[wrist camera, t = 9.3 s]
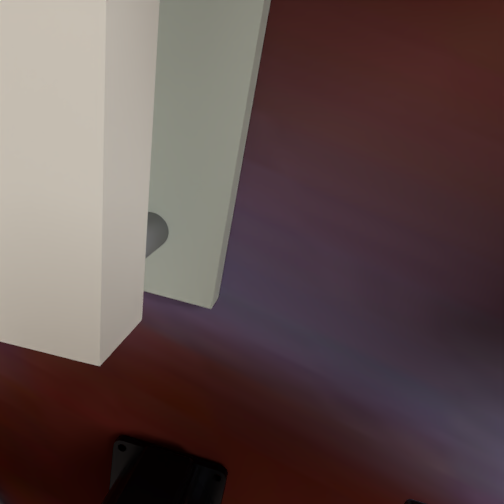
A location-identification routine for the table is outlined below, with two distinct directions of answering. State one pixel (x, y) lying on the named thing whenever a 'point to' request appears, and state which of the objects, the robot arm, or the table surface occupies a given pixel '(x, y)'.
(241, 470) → the table surface
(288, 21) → the table surface
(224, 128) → the peg stand
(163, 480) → the robot arm
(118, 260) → the shelf board
